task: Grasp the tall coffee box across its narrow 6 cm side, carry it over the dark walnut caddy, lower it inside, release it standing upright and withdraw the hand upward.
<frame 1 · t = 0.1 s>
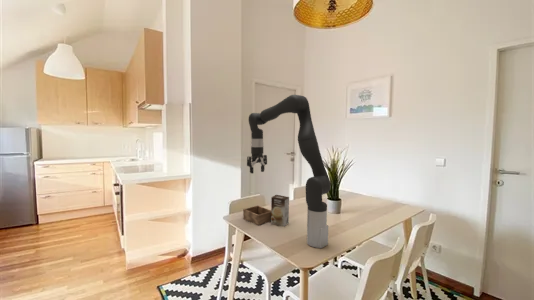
hand: (257, 172, 149), 29 cm above the table, fingers open, 8 cm apart
coffee box: (279, 223, 144), on the table
walnut caddy: (258, 219, 149), on the table
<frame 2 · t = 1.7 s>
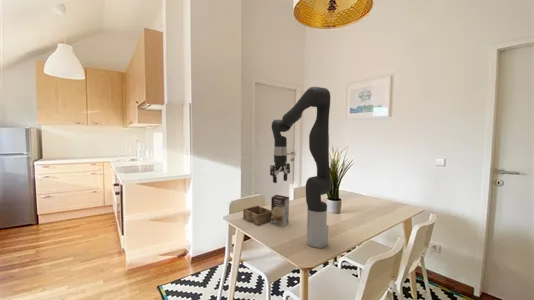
hand: (280, 181, 142), 25 cm above the table, fingers open, 8 cm apart
nothing on the table moved.
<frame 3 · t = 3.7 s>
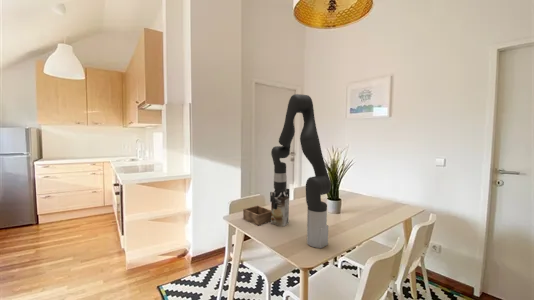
hand: (279, 207, 143), 9 cm above the table, fingers closed on coffee box, 7 cm apart
coffee box: (279, 223, 144), on the table, touching gripper
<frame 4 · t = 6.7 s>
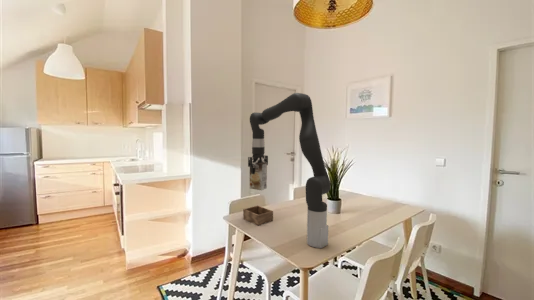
hand: (258, 173, 147), 29 cm above the table, fingers closed on coffee box, 7 cm apart
coffee box: (258, 188, 148), point 19 cm above the table, touching gripper
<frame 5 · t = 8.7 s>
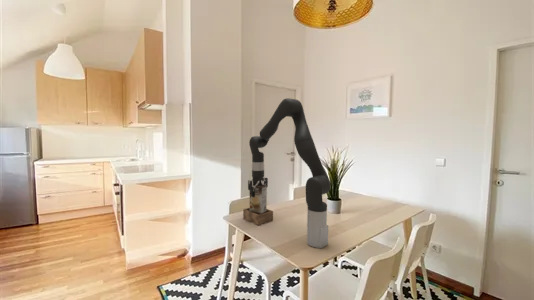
hand: (258, 195, 148), 15 cm above the table, fingers closed on coffee box, 7 cm apart
coffee box: (258, 211, 149), point 5 cm above the table, touching gripper
when the fingers open (11 cm above the table, at t = 10.2 s): coffee box stays where it is, resting on walnut caddy.
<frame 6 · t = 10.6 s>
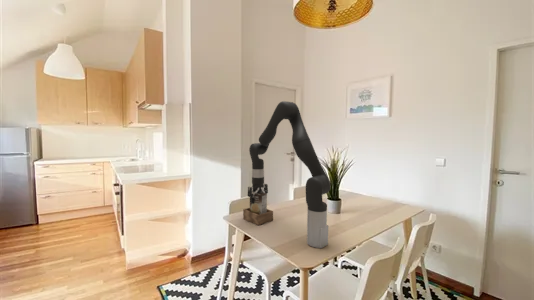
hand: (258, 202, 148), 11 cm above the table, fingers open, 8 cm apart
coffee box: (258, 219, 149), resting on walnut caddy
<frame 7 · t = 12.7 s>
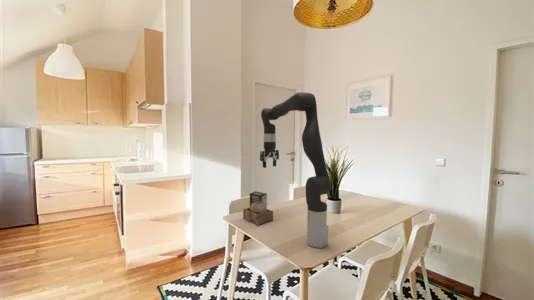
hand: (269, 167, 151), 32 cm above the table, fingers open, 8 cm apart
nothing on the table moved.
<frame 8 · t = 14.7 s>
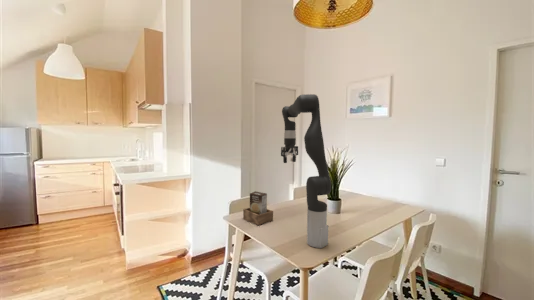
hand: (289, 162, 158), 34 cm above the table, fingers open, 8 cm apart
nothing on the table moved.
at the end: coffee box inside the target area on the walnut caddy (0.2 cm from its centre), point 0.4 cm above the walnut caddy's base; coffee box tilted 0°; the gripper is holding nothing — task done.
